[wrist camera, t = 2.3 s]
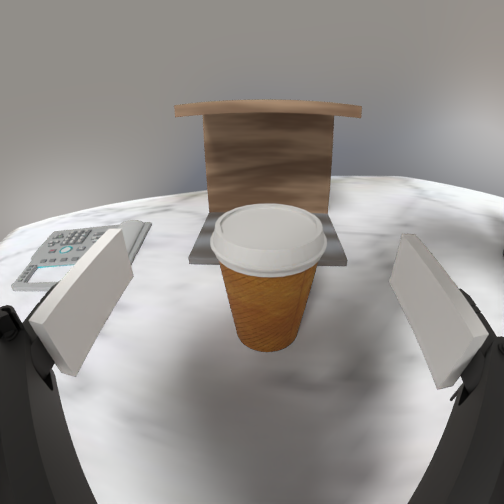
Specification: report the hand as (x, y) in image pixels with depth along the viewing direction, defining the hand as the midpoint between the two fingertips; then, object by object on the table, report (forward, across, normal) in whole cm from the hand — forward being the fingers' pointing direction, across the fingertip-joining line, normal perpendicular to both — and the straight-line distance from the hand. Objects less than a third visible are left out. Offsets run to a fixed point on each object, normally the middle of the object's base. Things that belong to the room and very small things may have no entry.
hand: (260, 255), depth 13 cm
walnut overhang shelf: (+31, 0, -15) cm, 34 cm away
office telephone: (+24, -31, -16) cm, 42 cm away
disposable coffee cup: (+10, 0, -15) cm, 18 cm away
